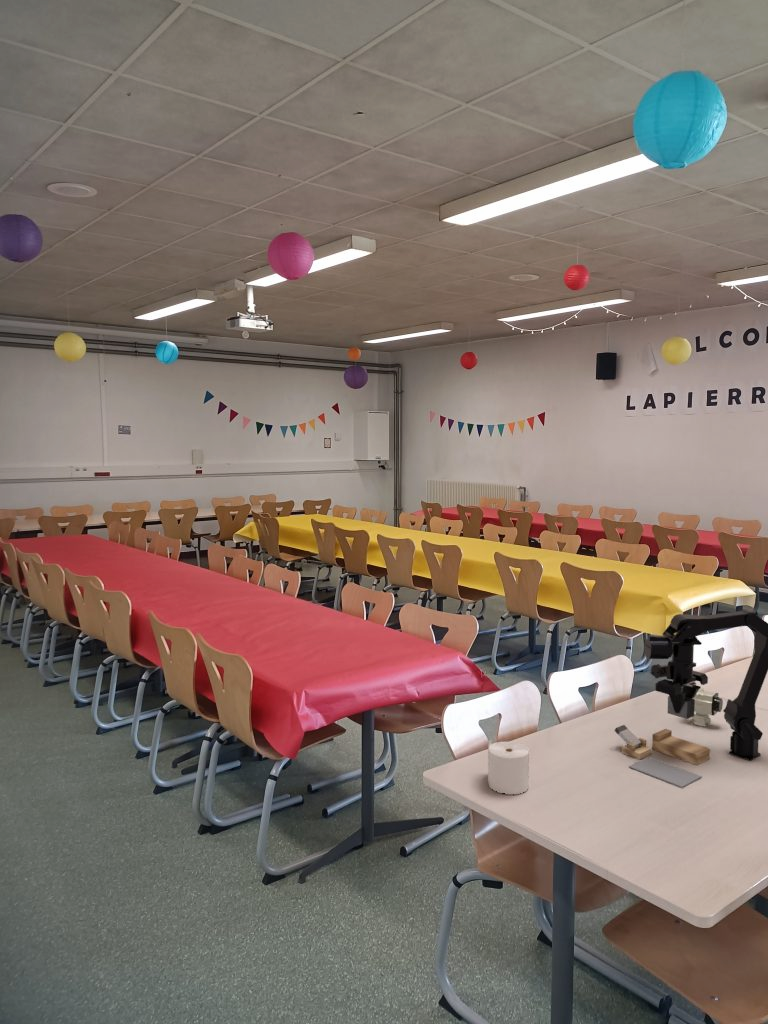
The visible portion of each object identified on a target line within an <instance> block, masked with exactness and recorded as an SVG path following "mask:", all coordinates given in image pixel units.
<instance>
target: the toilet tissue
mask: <svg viewBox="0 0 768 1024" xmlns="http://www.w3.org/2000/svg"><path fill="white" fill-rule="evenodd" d="M492 741H493V740H492V738H490V740H489V742H488V745H487V746H488V747H487V750H488V751H487V755H488V756H487V757H488V758H487V759H488V761H487V782H488V787H489V788H490V789H491V790H492V789H493V792H496V791H497V792H496V793H499V794H502V793H505V794H504V795H513V794H514V795H519V794H520V793H521V794H523V792H524V793H525V792H527V791H528V790H529V787H530V786H529V785H530V783H529V782H530V775H529V774H530V750H529V748H528V747H527V746H526V745H524V744H522V743H519V742H514V741H499V742H498V741H497V742H494V743H492ZM527 789H528V790H527Z"/></svg>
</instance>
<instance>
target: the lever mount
mask: <svg viewBox="0 0 768 1024" xmlns="http://www.w3.org/2000/svg"><path fill="white" fill-rule="evenodd" d="M638 739H639V740H640V741H641V742H642V745H641V746H639V747H637V748H635V745H634V744H631V743H628V744H627V743H626V745H624V746H622V747H621V754H623V755H626V756H628V757H631V758H634V759H637V760H639V761H641V760H643V759H645V758H648V757H650V756H651V755H653V754H652V752H653V749H652V747H648V746H647V739H645V738H641V737H639V738H638Z"/></svg>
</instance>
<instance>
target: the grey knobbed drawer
mask: <svg viewBox="0 0 768 1024" xmlns="http://www.w3.org/2000/svg"><path fill="white" fill-rule="evenodd" d="M694 706H695V699H692V698H689V697H685V698H684V701H683V704H682V707H681V709H680V712H679V713H675V711H674V708H673V705H672V702H671V699H670V696H669V695H668V696H667V714H669V715H672V716H676V717H679V718H683V719H685V720H687V719H690V718H691V719H692V717H693V716H694V714H695V712H694Z"/></svg>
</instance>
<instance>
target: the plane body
mask: <svg viewBox="0 0 768 1024" xmlns="http://www.w3.org/2000/svg"><path fill="white" fill-rule="evenodd" d="M651 739H652V742H651V743H652V744H651V745H652V746H651V748H652V751H653V750H654V751H655V752H656V751H657V752H659V753H662V754H663V755H664V754H665V755H667V756H670V757H673V758H676V759H679V760H682V761H684V762H688V763H690V764H692V765H693V764H694V765H695V766H698V765H700V764H702V763H704V762H705V761H707V760H710V757H711V756H710V755H711V748H709V747H707V746H704V745H700V744H697V743H694V742H692V741H688V740H686V739H682V738H679V737H676V736H673V735H672V730H671V729H667V728H663V729H661V730H659V731H657V732H654V733H652V738H651Z"/></svg>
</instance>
